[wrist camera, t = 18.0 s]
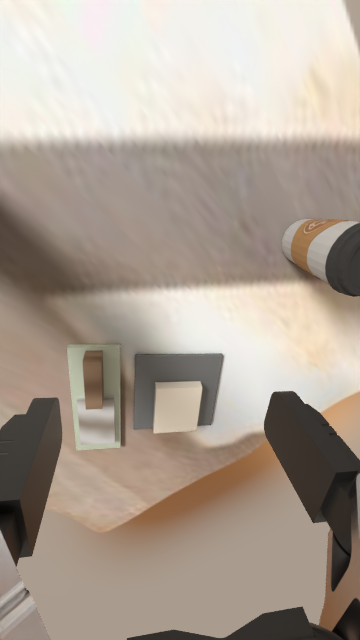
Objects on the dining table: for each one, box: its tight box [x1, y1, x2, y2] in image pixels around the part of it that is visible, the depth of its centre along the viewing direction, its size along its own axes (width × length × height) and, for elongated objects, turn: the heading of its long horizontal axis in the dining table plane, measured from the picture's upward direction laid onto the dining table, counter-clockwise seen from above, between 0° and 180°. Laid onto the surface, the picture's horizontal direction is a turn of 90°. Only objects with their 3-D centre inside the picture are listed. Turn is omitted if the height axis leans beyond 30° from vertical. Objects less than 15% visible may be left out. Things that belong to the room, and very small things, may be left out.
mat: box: [134, 354, 223, 429], centre depth 52 cm, size 15×16×1 cm
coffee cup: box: [282, 219, 360, 296], centre depth 37 cm, size 8×8×15 cm
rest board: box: [67, 344, 121, 450], centre depth 50 cm, size 8×22×1 cm, turn 176°
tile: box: [153, 381, 202, 433], centre depth 51 cm, size 8×2×10 cm
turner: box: [77, 350, 115, 445], centre depth 47 cm, size 19×6×3 cm, turn 176°
